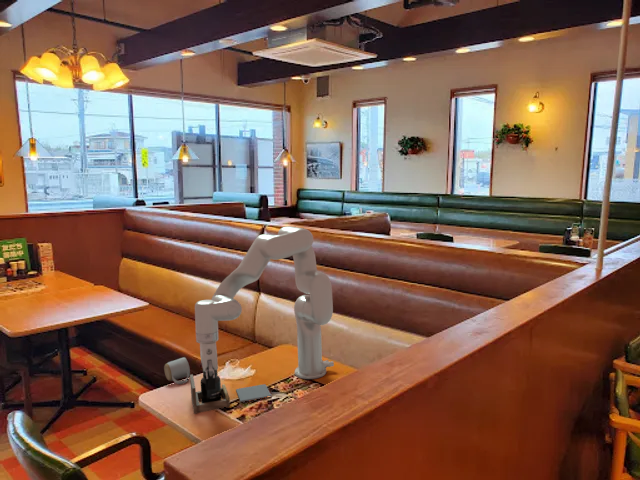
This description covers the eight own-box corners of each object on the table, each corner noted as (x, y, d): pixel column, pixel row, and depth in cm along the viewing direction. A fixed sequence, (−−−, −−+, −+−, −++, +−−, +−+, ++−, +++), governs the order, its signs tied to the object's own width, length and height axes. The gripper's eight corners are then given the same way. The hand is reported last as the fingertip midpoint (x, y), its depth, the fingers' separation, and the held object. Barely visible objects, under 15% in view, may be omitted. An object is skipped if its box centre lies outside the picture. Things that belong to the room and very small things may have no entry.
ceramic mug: (163, 378, 188) (162, 359, 187) (183, 372, 193) (182, 354, 192) (173, 387, 180) (172, 368, 179) (194, 381, 185) (193, 362, 184)
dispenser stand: (225, 392, 173) (224, 369, 172) (230, 407, 162) (228, 382, 161) (191, 398, 169) (189, 374, 168) (193, 414, 158) (192, 388, 157)
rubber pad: (265, 386, 178) (265, 384, 178) (271, 397, 169) (271, 395, 169) (236, 391, 175) (236, 389, 174) (240, 402, 165) (240, 400, 165)
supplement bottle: (216, 408, 162) (214, 374, 160) (198, 406, 163) (196, 373, 162) (224, 399, 169) (222, 366, 167) (206, 397, 170) (204, 365, 168)
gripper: (221, 342, 156) (223, 392, 158) (215, 327, 172) (217, 373, 174) (198, 345, 153) (200, 395, 155) (194, 330, 170) (196, 375, 172)
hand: (209, 383), depth 165 cm, fingers open, 9 cm apart
